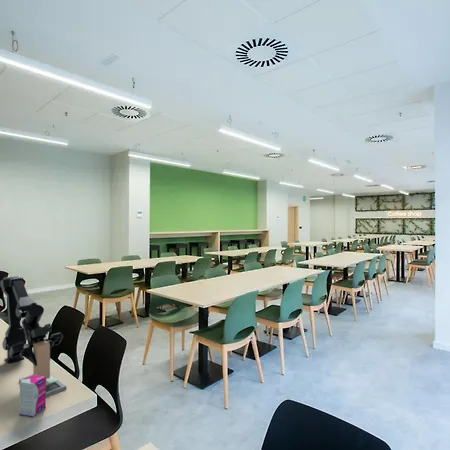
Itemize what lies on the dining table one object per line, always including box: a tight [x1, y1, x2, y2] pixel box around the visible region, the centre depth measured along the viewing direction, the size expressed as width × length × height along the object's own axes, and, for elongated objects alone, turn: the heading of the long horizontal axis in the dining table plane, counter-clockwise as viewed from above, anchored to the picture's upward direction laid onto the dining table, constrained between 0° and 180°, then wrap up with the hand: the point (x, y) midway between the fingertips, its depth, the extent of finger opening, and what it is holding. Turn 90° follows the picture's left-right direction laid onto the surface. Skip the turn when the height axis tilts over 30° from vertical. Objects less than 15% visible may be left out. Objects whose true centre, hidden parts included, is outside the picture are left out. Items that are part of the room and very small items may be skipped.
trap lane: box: [18, 373, 67, 398], centre depth 127 cm, size 20×10×1 cm, turn 50°
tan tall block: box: [32, 341, 51, 379], centre depth 127 cm, size 4×4×14 cm
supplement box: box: [18, 374, 47, 418], centre depth 109 cm, size 6×6×12 cm
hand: (43, 363), depth 126 cm, fingers closed on tan tall block, 4 cm apart
